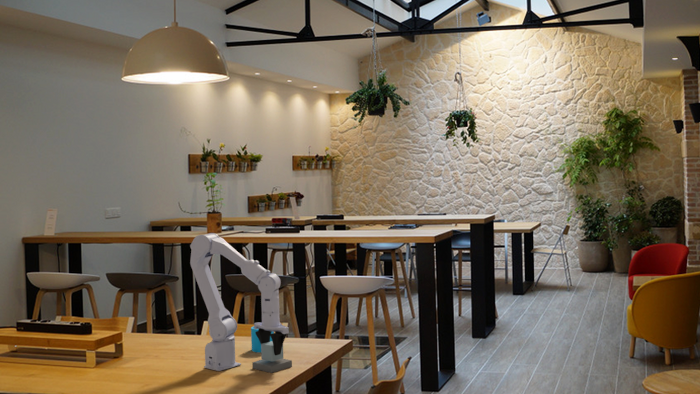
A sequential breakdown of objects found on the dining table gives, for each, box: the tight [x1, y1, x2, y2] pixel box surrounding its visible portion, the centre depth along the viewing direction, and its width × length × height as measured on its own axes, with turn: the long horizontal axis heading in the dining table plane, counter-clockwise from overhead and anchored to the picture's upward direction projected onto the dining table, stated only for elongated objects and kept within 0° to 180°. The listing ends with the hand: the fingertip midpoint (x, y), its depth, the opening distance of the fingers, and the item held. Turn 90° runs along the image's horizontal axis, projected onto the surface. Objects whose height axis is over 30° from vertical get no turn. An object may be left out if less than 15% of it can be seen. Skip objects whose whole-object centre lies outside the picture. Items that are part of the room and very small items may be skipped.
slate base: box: [251, 358, 293, 374], centre depth 216 cm, size 9×9×2 cm
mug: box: [250, 325, 275, 353], centre depth 243 cm, size 12×8×8 cm
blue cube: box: [260, 341, 284, 361], centre depth 216 cm, size 5×5×5 cm
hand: (271, 353), depth 216 cm, fingers closed on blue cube, 5 cm apart
